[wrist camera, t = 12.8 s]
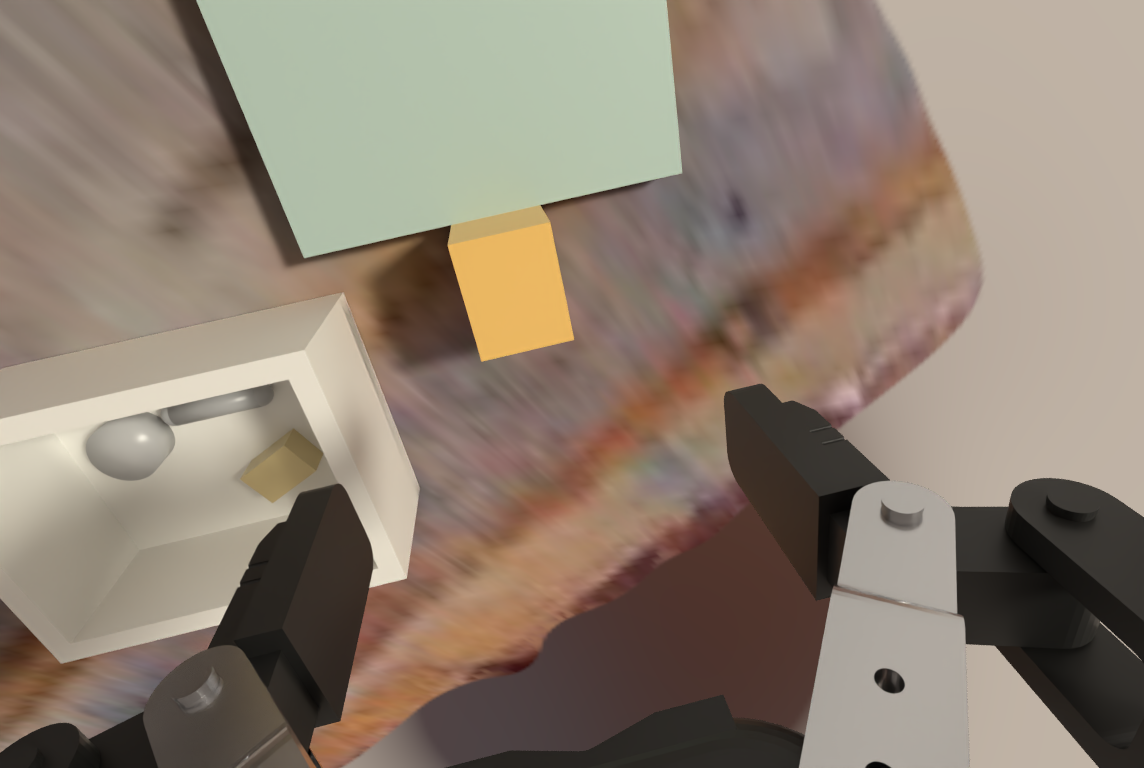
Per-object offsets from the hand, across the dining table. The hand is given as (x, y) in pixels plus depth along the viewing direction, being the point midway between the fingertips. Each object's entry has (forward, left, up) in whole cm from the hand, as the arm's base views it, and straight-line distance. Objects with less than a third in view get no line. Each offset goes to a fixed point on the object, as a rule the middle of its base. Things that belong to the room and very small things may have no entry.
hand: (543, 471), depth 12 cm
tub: (-16, -6, -18) cm, 25 cm away
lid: (0, +6, -18) cm, 19 cm away
